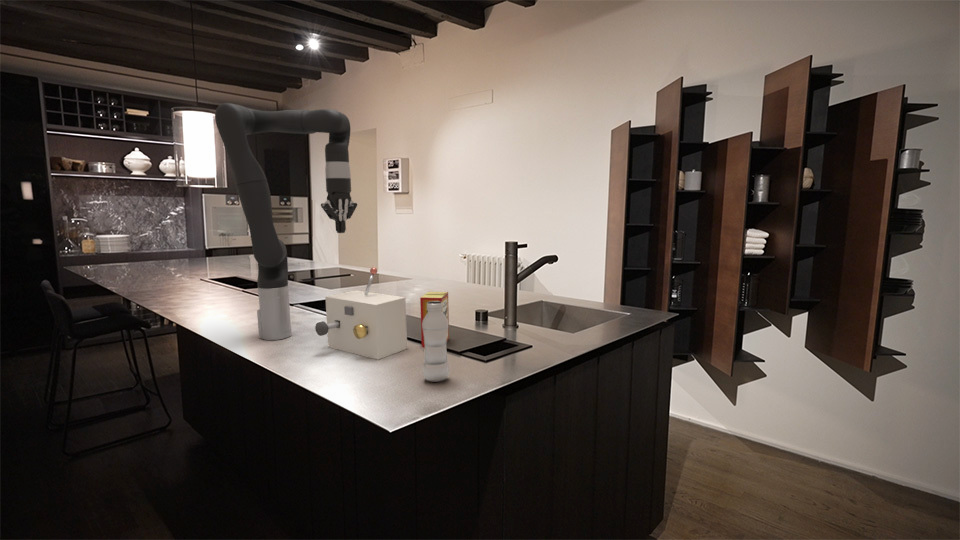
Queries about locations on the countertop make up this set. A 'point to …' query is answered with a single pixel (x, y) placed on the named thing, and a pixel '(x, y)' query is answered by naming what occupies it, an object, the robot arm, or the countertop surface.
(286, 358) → the countertop surface
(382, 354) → the console
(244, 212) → the robot arm
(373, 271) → the toggle lever
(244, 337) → the countertop surface
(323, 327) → the black plunger
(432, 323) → the plastic bottle
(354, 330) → the brass plunger
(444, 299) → the baking soda box
